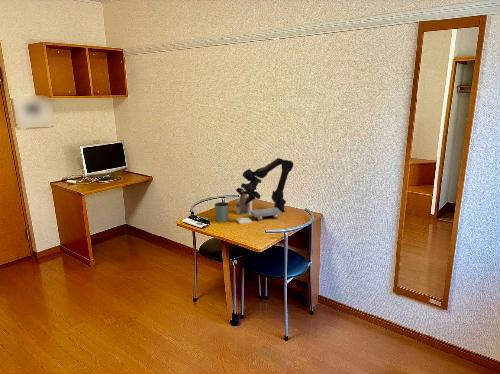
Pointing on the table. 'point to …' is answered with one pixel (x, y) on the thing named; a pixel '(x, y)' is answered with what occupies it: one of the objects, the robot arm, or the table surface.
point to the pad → (244, 220)
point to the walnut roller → (243, 203)
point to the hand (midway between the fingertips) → (242, 203)
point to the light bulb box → (240, 207)
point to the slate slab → (266, 213)
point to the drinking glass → (221, 211)
